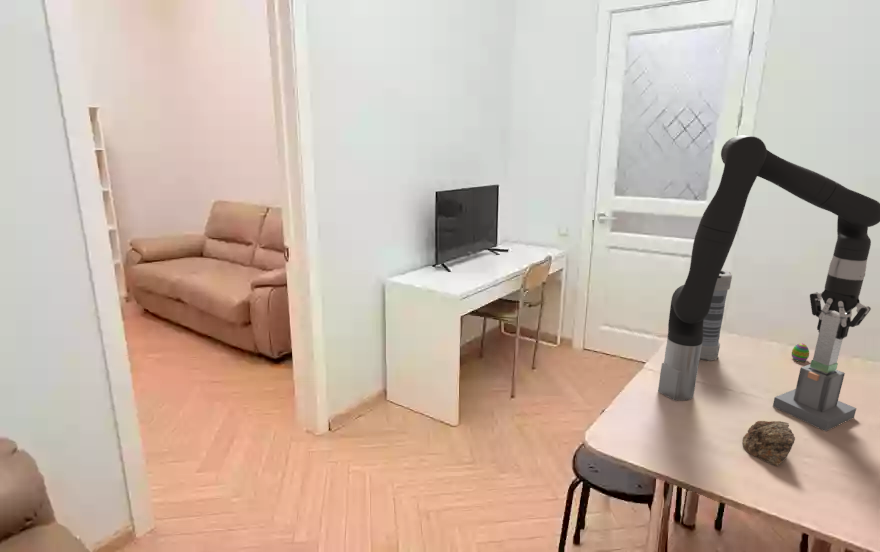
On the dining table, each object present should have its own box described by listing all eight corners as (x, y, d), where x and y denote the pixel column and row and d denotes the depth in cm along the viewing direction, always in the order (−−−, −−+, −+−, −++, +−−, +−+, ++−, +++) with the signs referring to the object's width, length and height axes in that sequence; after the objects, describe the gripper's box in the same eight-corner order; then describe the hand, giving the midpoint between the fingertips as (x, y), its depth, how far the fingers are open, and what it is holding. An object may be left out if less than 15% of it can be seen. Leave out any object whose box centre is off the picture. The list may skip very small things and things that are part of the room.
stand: (825, 431, 140) (836, 387, 136) (772, 406, 152) (781, 365, 148) (853, 417, 147) (865, 375, 143) (801, 394, 158) (810, 355, 154)
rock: (786, 445, 136) (742, 433, 141) (793, 414, 134) (748, 403, 139) (789, 472, 124) (740, 459, 129) (796, 439, 122) (747, 426, 127)
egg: (806, 358, 182) (809, 342, 180) (808, 364, 178) (812, 347, 176) (789, 355, 184) (792, 339, 182) (791, 361, 180) (795, 345, 178)
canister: (720, 362, 178) (735, 277, 169) (687, 358, 181) (700, 274, 172) (715, 350, 188) (729, 269, 179) (684, 346, 190) (696, 266, 182)
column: (823, 388, 144) (840, 319, 138) (806, 381, 147) (822, 313, 142) (832, 384, 146) (849, 316, 140) (815, 377, 149) (831, 311, 144)
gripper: (808, 269, 142) (795, 328, 147) (869, 284, 130) (853, 348, 135) (824, 265, 145) (810, 324, 150) (885, 279, 133) (868, 342, 138)
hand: (831, 335), depth 142 cm, fingers closed on column, 4 cm apart
